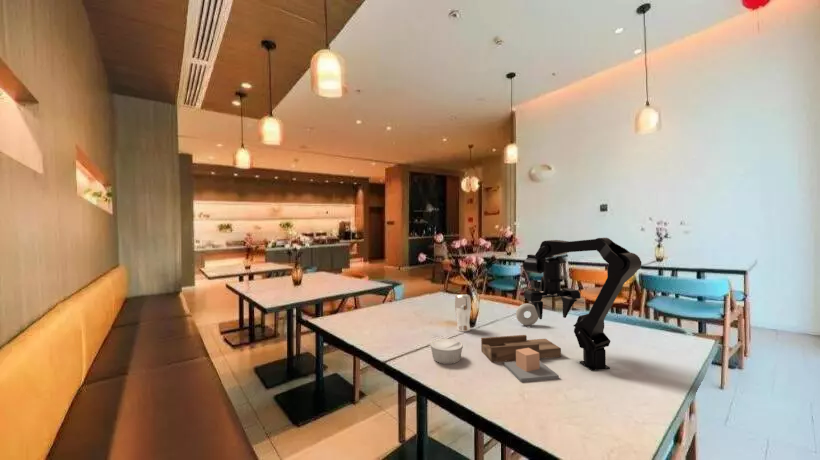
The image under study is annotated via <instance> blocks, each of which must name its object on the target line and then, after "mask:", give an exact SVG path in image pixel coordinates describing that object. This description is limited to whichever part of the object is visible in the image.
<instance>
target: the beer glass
mask: <svg viewBox="0 0 820 460" xmlns="http://www.w3.org/2000/svg"><path fill="white" fill-rule="evenodd" d="M454 299H455V300H454V309H455V311H454V312H455V316H456V320H457V321H456V323H457V324H456V331H458V332H461V333H462V332H463V333H465V332H470V331H471V325H470V317H471V311H472V301H471V295H470V294H465V293H463V294H456V295H455V296H454Z"/></svg>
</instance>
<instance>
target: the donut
mask: <svg viewBox="0 0 820 460" xmlns="http://www.w3.org/2000/svg"><path fill="white" fill-rule="evenodd" d="M525 312H529V313H530V316H529V317H525ZM515 315H516V316H515V317H516V319H517V321H518V322H519V324H521V325H523V326H527V327H528V326H532V325H534V324H536V323H537V321H538V320H539V317H538V314H537V311H536V309H535V306H534V305H533V303H532V304H531V303H523V304H521V305H519V306H518V308H517V309H516V311H515Z"/></svg>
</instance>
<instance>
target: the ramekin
mask: <svg viewBox="0 0 820 460" xmlns="http://www.w3.org/2000/svg"><path fill="white" fill-rule="evenodd" d="M429 344H430V345H429V346H430V349H431V354H432V359H433V360H434V361H435V362H436V361H437V363H438V362H439V363H438V364H442V363H443V364H445V365H452V363H453V364H455V363H458V362H459V361H460V360H461V357H462V350H463V348H464V346H463V343H462V341H459V340H457V339H452V338H439V339H435V340H433V341H431V342H430V343H429Z"/></svg>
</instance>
